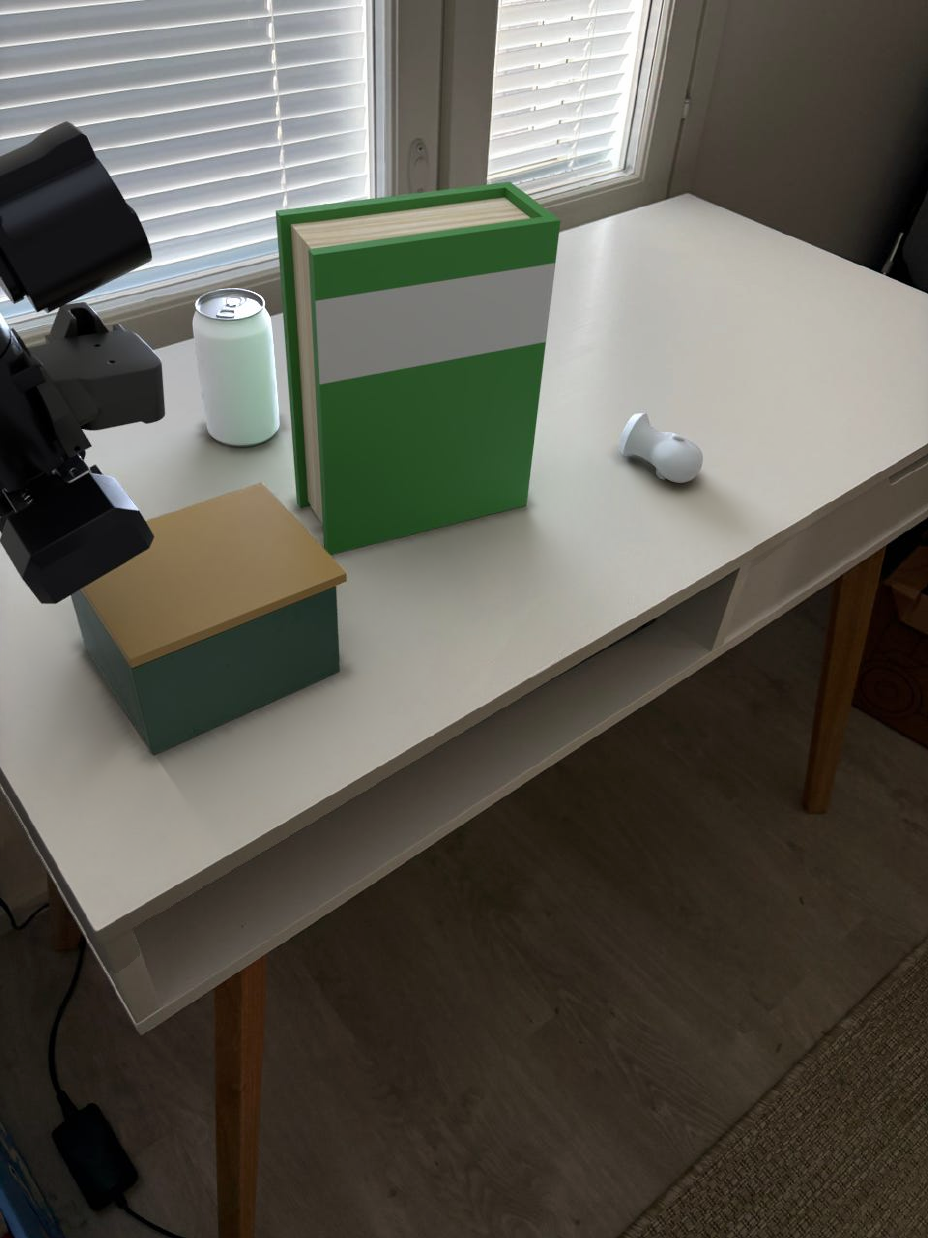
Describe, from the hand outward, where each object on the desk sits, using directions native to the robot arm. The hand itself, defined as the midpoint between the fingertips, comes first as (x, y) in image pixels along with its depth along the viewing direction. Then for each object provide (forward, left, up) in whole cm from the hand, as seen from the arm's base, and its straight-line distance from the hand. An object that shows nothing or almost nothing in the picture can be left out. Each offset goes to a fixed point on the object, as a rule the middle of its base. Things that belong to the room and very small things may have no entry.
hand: (96, 568), depth 60 cm
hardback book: (+25, +14, -11) cm, 31 cm away
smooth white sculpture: (+48, +13, -11) cm, 51 cm away
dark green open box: (+6, +1, -11) cm, 12 cm away
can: (+14, +29, -11) cm, 34 cm away
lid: (+6, +2, -3) cm, 7 cm away
